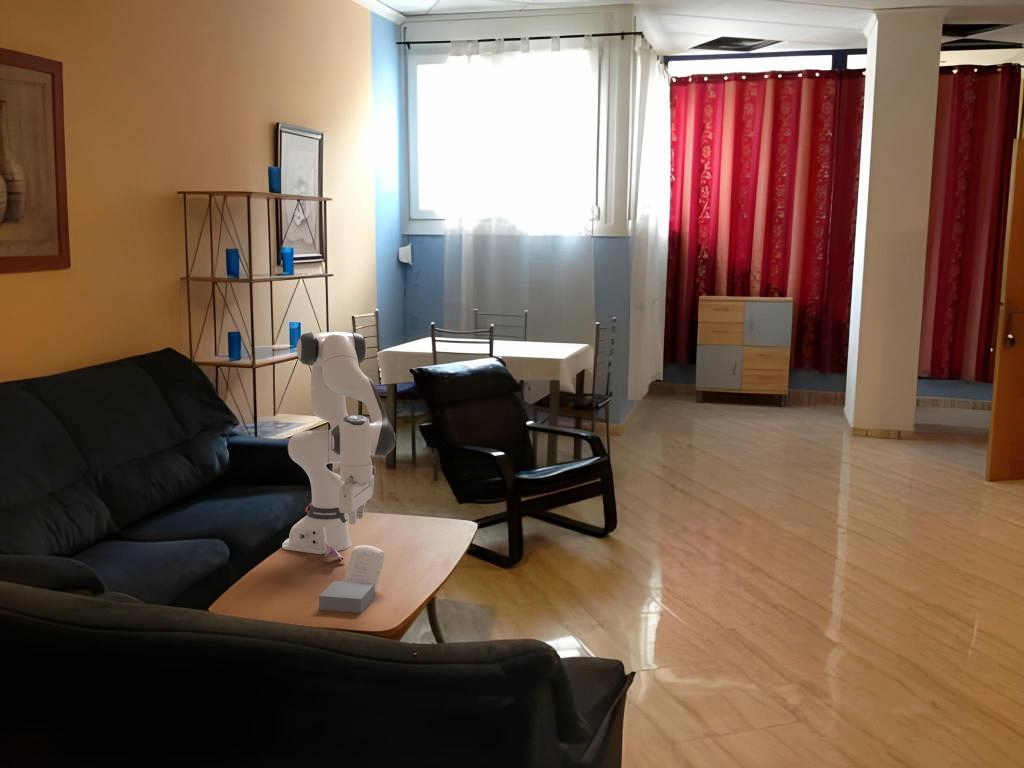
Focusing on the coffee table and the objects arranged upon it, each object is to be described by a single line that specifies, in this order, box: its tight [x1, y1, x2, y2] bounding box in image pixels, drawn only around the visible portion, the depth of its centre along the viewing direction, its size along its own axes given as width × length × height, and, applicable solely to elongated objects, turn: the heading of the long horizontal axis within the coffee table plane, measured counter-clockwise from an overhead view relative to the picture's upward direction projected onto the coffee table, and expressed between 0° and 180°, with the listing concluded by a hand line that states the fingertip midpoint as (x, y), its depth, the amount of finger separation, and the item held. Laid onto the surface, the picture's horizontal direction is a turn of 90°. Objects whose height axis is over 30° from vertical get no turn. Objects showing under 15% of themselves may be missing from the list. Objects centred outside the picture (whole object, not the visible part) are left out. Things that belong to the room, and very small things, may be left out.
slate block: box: [318, 580, 376, 614], centre depth 255 cm, size 12×12×4 cm
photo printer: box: [343, 544, 385, 591], centre depth 267 cm, size 10×4×12 cm, turn 65°
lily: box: [320, 534, 346, 565], centre depth 287 cm, size 12×12×10 cm
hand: (356, 520), depth 260 cm, fingers open, 5 cm apart
